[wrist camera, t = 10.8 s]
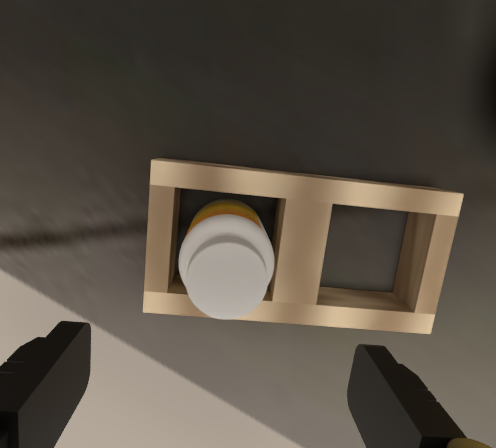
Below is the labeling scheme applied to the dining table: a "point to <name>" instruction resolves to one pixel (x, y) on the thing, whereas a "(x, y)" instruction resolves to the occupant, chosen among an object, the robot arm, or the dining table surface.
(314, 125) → the dining table surface
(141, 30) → the dining table surface
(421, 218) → the bottle rack
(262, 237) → the supplement bottle
